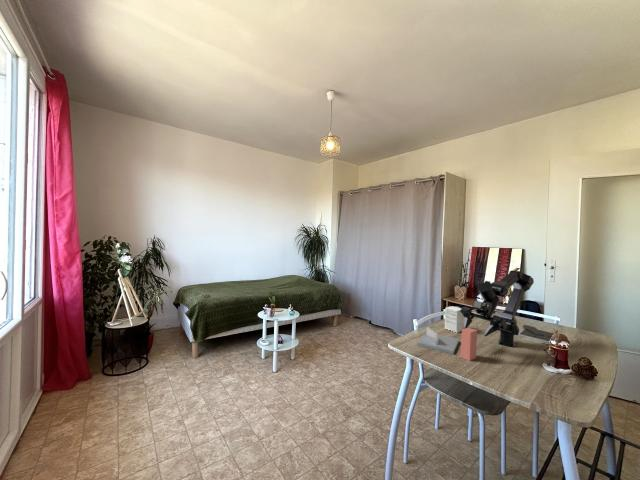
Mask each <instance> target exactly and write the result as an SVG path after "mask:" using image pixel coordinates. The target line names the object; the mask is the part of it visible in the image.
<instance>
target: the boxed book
mask: <svg viewBox="0 0 640 480" xmlns="http://www.w3.org/2000/svg"><path fill="white" fill-rule="evenodd" d="M460 340H461V341H460V358H461V359H465V360H467V361H470V362H471V361H473V360H475V359H477V348H478V347H477V343H478V330H477V329H474V328H471V327H468V328H465V329H464V328H463V329H462V331H461V339H460Z"/></svg>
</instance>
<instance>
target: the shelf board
mask: <svg viewBox="0 0 640 480" xmlns="http://www.w3.org/2000/svg"><path fill="white" fill-rule="evenodd" d="M459 343H460V339H459V338H456V337H451V336H447V335H442V334H439V341H438V345H436V344H435V343H433V342H432V341H431V340H430V339H429V338H428V337H427V331H425V333H424V334H423V335H422V336H421V337H420V339H419V340H417V342H416V346H418V345H420V346H419V347H422V346H424V347H423V348H426V347H427V348H426V349H430V348H431V350H433V349H434V350H433V351H438V352H440V353H441V352H442V353H445V354H449V355H454V353H455V351H456V349H457V347H458V345H459Z"/></svg>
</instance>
